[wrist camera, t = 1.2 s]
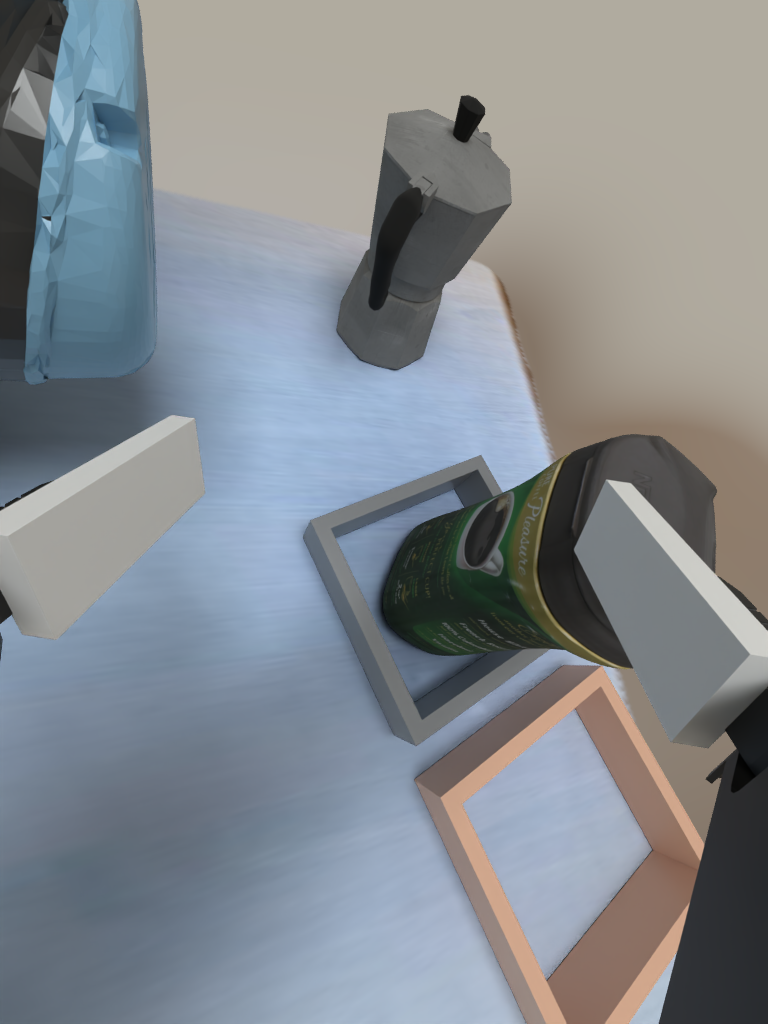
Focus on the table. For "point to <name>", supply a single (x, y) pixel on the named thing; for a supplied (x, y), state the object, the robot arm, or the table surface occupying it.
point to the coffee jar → (537, 556)
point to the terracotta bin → (639, 904)
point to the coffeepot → (422, 229)
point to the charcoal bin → (362, 629)
